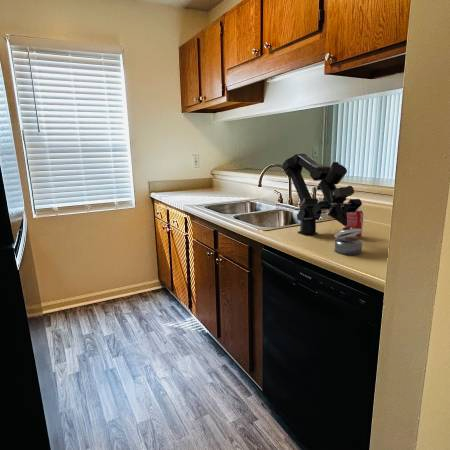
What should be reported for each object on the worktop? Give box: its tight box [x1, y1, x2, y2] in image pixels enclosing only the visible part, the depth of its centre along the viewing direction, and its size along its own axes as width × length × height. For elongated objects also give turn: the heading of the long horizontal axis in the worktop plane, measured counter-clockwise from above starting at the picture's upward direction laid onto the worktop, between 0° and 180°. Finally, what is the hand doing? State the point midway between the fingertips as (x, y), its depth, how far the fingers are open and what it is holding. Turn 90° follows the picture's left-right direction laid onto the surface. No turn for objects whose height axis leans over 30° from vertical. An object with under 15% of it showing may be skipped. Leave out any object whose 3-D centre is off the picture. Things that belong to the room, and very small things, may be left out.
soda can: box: [344, 208, 364, 239], centre depth 144 cm, size 7×7×12 cm
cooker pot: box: [334, 237, 363, 257], centre depth 124 cm, size 9×9×4 cm
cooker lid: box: [333, 226, 363, 239], centre depth 124 cm, size 10×10×3 cm
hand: (345, 225), depth 124 cm, fingers closed
